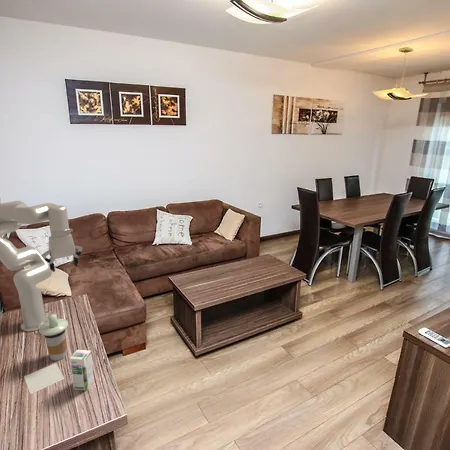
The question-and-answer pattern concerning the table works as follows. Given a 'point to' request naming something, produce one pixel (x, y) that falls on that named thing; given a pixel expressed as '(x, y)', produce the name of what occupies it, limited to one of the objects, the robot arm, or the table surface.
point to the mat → (43, 378)
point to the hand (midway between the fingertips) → (64, 267)
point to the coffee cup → (56, 346)
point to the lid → (53, 326)
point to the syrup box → (82, 369)
